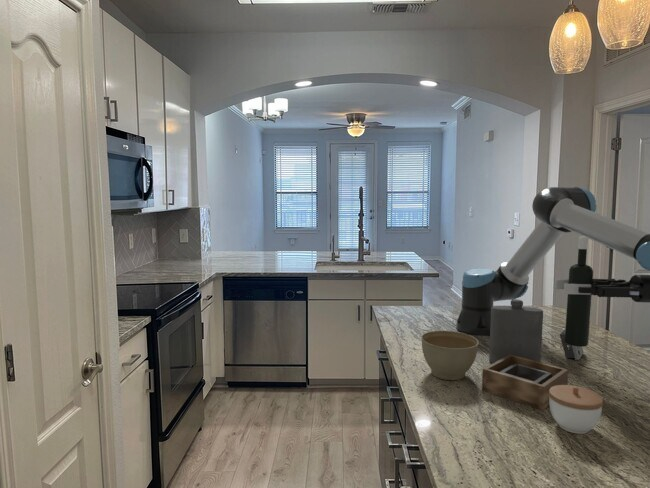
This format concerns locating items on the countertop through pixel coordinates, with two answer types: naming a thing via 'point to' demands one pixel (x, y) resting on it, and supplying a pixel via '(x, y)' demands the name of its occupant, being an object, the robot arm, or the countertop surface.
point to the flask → (515, 332)
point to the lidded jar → (575, 408)
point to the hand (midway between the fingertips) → (560, 286)
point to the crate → (523, 380)
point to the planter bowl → (449, 353)
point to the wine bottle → (579, 300)
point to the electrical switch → (571, 349)
